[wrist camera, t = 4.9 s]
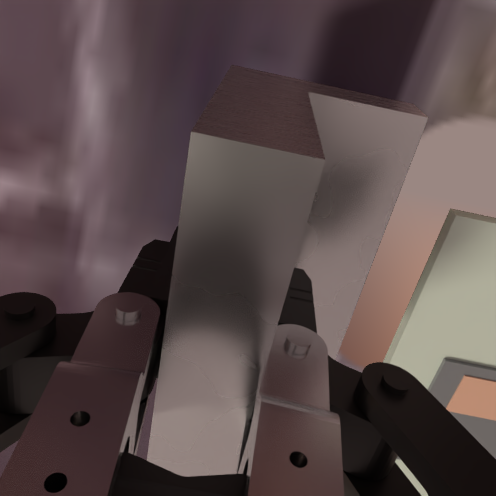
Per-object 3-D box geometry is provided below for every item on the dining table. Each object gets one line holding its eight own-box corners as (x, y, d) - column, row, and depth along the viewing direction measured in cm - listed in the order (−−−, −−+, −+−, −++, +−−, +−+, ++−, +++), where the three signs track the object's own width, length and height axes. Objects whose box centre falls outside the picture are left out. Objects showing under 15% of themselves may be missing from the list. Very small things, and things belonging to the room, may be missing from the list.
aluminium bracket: (231, 64, 12) (190, 131, 7) (413, 103, 13) (520, 200, 7) (184, 345, 17) (138, 520, 12) (316, 370, 18) (332, 553, 12)
